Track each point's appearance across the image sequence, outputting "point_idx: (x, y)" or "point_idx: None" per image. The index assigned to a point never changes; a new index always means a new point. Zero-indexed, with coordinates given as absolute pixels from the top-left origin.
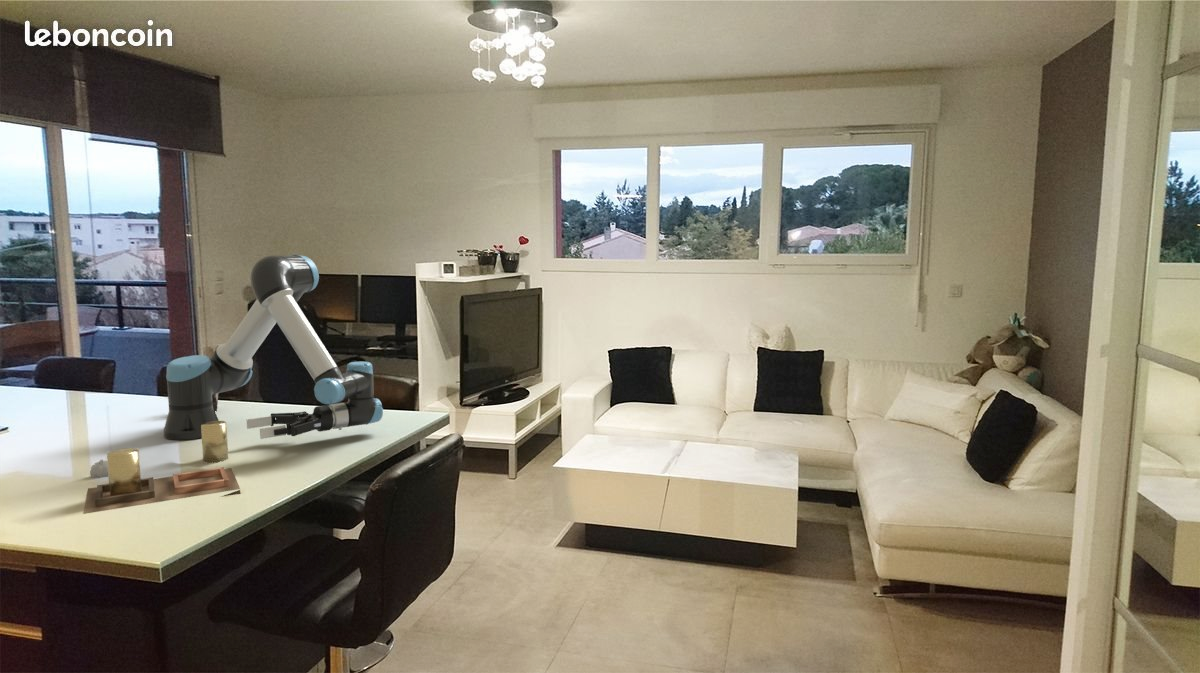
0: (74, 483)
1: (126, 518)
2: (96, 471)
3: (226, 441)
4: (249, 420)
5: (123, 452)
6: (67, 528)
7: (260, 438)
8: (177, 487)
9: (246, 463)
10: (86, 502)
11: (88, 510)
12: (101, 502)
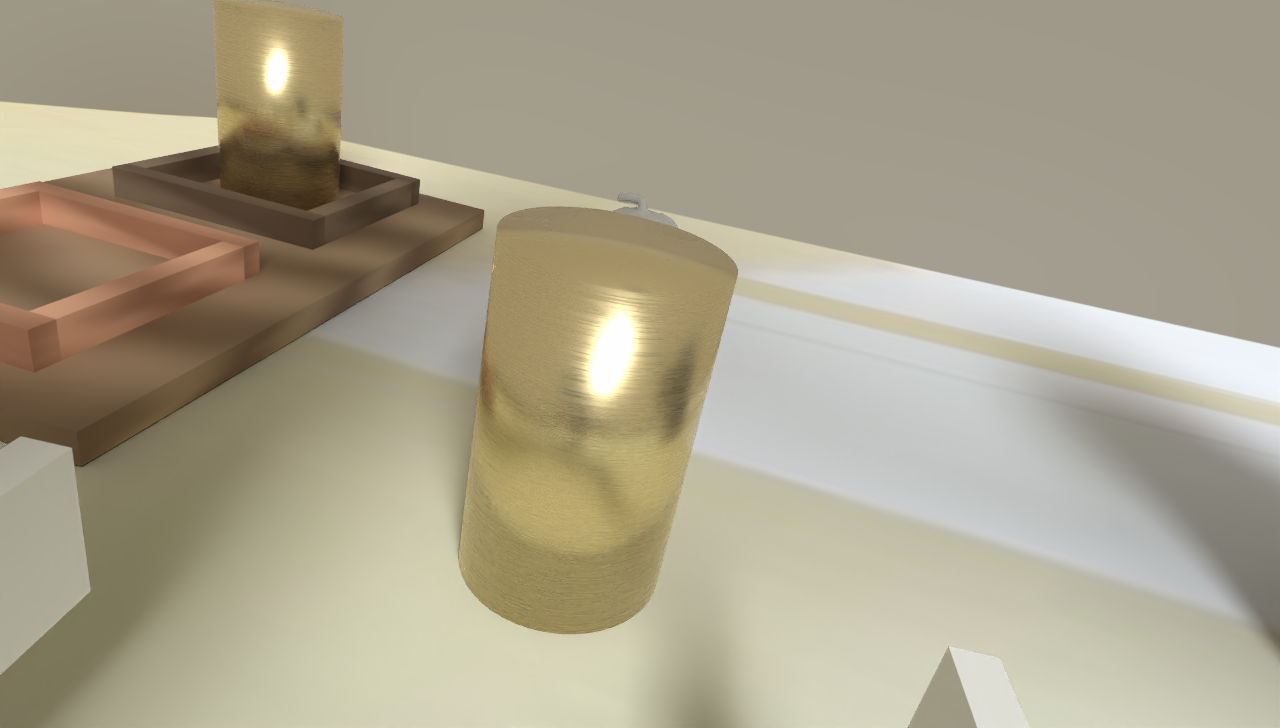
0: None
1: (78, 167)
2: None
3: (507, 454)
4: (954, 699)
5: (272, 5)
6: (201, 143)
7: (78, 587)
8: (30, 183)
9: (160, 630)
10: None
11: None
12: None
